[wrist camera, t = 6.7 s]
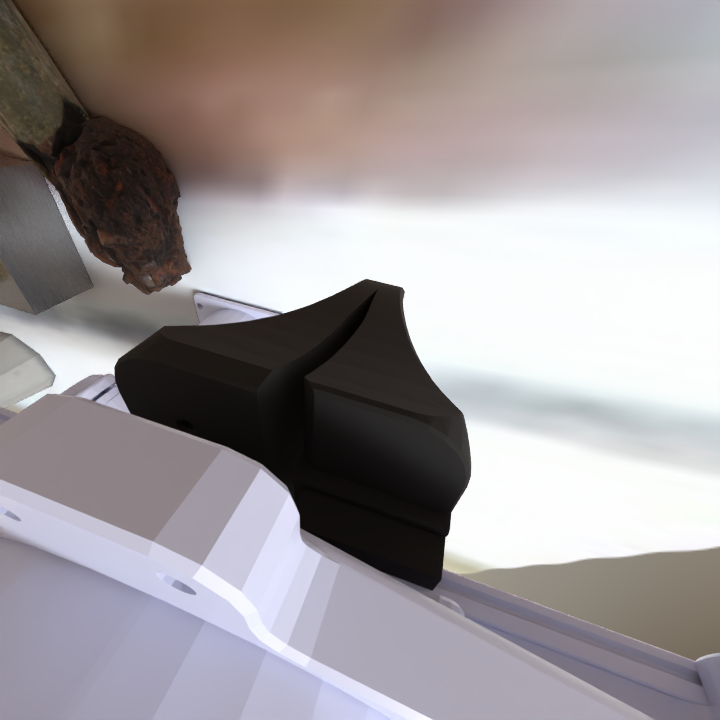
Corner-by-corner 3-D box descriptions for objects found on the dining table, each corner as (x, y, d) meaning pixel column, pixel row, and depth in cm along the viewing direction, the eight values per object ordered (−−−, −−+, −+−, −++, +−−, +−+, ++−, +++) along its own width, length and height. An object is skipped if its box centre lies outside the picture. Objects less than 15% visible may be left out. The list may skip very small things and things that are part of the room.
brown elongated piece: (-41, -6, 18) (-203, -40, 14) (1, -114, 15) (-193, -203, 11) (178, 280, 26) (118, 315, 22) (236, 250, 23) (179, 283, 18)
